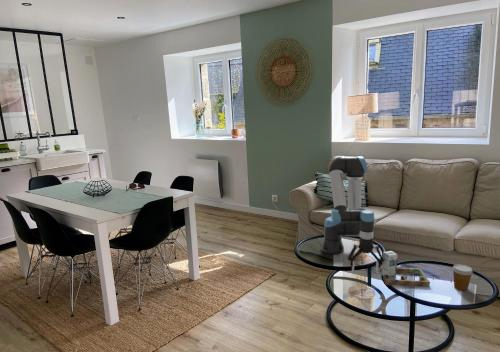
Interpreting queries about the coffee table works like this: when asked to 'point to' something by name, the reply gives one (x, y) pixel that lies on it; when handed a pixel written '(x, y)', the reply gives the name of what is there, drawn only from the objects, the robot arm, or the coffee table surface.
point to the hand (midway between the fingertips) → (364, 271)
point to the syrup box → (389, 264)
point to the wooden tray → (404, 282)
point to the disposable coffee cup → (462, 277)
